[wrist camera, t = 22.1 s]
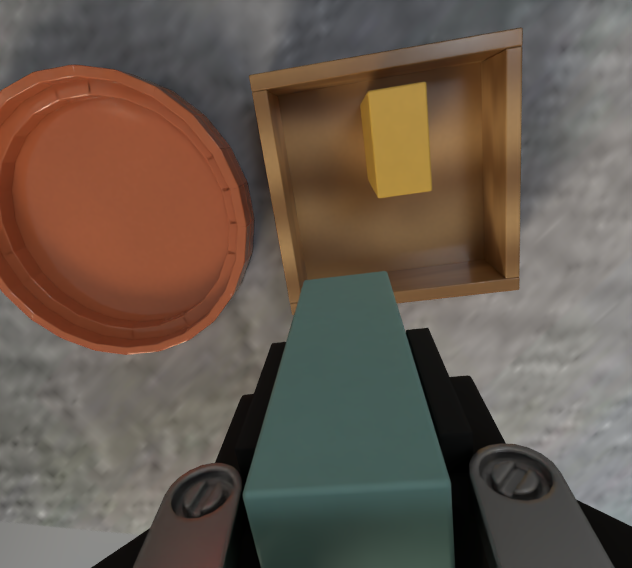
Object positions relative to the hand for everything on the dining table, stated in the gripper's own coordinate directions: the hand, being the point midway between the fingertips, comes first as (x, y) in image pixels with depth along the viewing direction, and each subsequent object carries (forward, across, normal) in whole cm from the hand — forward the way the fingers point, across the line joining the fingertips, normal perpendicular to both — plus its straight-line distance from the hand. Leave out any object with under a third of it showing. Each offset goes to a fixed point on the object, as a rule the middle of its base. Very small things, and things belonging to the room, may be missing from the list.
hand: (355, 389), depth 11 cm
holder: (+19, -3, -3) cm, 19 cm away
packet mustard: (+18, -3, -6) cm, 19 cm away
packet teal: (+3, 0, 0) cm, 3 cm away
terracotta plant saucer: (+19, +15, -3) cm, 25 cm away
